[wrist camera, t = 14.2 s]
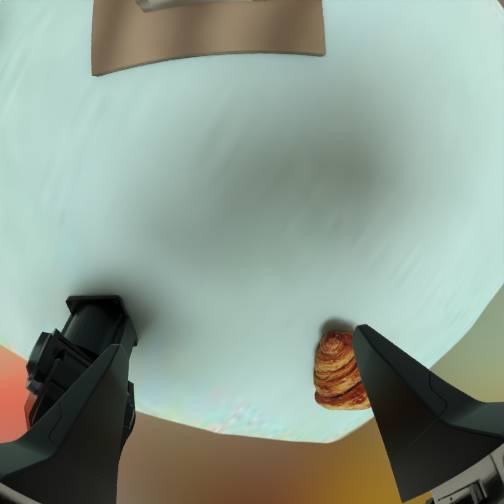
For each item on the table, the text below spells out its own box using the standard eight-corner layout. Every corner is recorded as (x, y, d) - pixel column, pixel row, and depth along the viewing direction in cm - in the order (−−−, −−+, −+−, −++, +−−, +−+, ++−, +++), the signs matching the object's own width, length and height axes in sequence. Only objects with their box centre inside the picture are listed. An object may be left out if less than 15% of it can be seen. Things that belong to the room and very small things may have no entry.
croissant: (371, 370, 40) (408, 392, 33) (331, 416, 37) (365, 443, 31) (334, 290, 30) (392, 316, 23) (270, 358, 27) (321, 402, 21)
